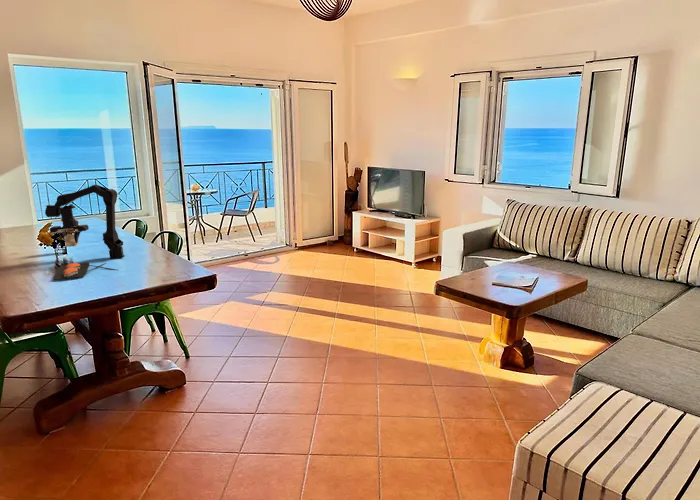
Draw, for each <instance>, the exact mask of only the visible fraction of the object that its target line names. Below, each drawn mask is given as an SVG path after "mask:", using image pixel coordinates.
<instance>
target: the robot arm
mask: <svg viewBox="0 0 700 500" xmlns="http://www.w3.org/2000/svg"><path fill="white" fill-rule="evenodd" d="M93 193H94V194H96V195H98V197H101V198H102V201H103V203H104V205H105V216H106V217H105V218H106V219H105V220H106V224H105V225H106V230H105V232H103V233H102V241H103V243H104V245H106V247H107V248H108V252H109V254H108V255H109V260H117V259H123V258H124V257H125V256H126V255H125V254H124V247H123V246H124V241H123V240H122V239H120V238H119V234H118V232H117V229H116V208H115V207H116V203H117V202H118V201H117V200H118V192H117V191H116V190H115V189H113V188H108V187H104V186H101V185H98V184H93V185H90V186H88V187H85V188H83V189H79V190H77V191H75V192H69V193H63V194H61V195H58V196H57V197H56V201H55V203H54V205H53V204H47V205H45V206H46V207H45V210H44V211H45V212H44V214H45V216H46V217H47V218H60V217H61V218H60V221H61V222H62V226H61V225H54V226H51V227H50V228H49V233H50V234H52V233H56V232H57V234H59V235H60V236H61V237H62V239H63V240H64V241H65V239H64V236H66V235H67V231H73V234H74V236H75V241H76V243H78V244H79V238H80V235H81V233H82V232H86V231H88V230H90V228H89V225H88V224H80V225H79V220H77V219H76V218H75V216H74V214H73V209H75V208H77V207H76V206H75V205H74V204H73V202H74V201H76V200H77V199H79V198H80V199H81V198H82V197H85V196H89V195H91V194H93Z"/></svg>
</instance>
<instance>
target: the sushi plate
mask: <svg viewBox="0 0 700 500" xmlns="http://www.w3.org/2000/svg"><path fill="white" fill-rule="evenodd" d="M105 264H107V262H104V263H103V264H100V265H92V264H90V262H72V263H67V264H62V265H60V266H59V267H58V268H57V271H56V272H55V274H54V276H53V277H52V279H53V280H54V281H58V280H59V281H60V280H61V281H62V280H63V281H65V280H72V279H77V278H83V277H85V276H86V274H87V273H89V272H91V271H93V270H95V269H98V268H100V269H104V270H111V271H118V269H115V268H111V267H103V266H104V265H105ZM90 266H91V267H94V268H92V269H89V268H90Z"/></svg>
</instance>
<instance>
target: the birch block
mask: <svg viewBox="0 0 700 500" xmlns="http://www.w3.org/2000/svg"><path fill="white" fill-rule="evenodd" d="M64 239H65V245H66V248H67V247H77V246H78V245H79V242H78V243H76V241H75V236H74V233H73V234H66V236H64Z"/></svg>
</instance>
